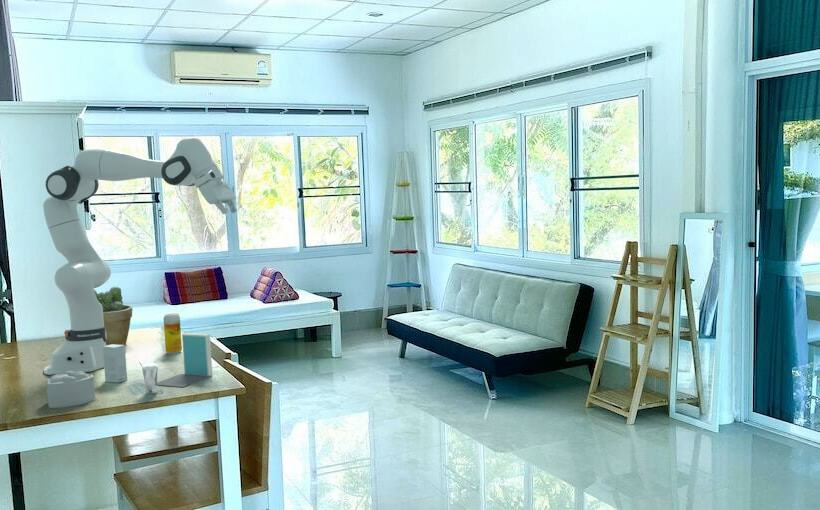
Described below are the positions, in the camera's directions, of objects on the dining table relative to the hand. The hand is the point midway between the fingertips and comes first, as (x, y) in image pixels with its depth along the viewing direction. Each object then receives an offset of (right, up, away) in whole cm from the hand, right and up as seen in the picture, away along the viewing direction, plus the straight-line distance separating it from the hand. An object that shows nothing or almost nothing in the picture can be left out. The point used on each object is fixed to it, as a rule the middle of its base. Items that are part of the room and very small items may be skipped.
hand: (230, 213), depth 261 cm
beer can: (-29, -53, +30) cm, 67 cm away
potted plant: (-61, -53, +48) cm, 93 cm away
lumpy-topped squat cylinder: (-40, -60, -35) cm, 80 cm away
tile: (-9, -56, -7) cm, 57 cm away
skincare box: (-35, -57, -12) cm, 68 cm away
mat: (-12, -56, -15) cm, 60 cm away
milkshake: (-18, -58, -29) cm, 67 cm away
